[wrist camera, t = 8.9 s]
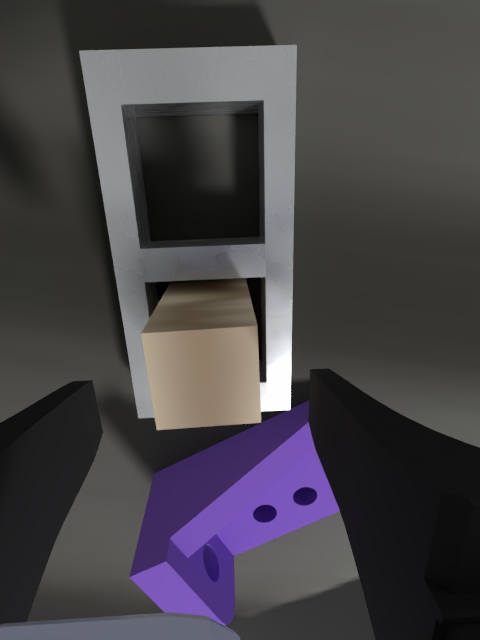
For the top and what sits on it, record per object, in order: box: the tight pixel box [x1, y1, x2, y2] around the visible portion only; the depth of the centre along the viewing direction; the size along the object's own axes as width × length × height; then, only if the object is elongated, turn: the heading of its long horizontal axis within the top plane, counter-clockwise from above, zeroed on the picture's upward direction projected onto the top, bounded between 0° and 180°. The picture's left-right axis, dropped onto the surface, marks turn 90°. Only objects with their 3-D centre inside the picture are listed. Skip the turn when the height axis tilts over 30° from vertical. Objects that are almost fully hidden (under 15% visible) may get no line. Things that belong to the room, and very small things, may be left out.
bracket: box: [130, 400, 340, 625], centre depth 20 cm, size 12×7×7 cm, turn 118°
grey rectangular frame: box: [79, 45, 297, 418], centre depth 17 cm, size 8×16×2 cm, turn 2°
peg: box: [141, 278, 261, 430], centre depth 16 cm, size 4×4×7 cm
